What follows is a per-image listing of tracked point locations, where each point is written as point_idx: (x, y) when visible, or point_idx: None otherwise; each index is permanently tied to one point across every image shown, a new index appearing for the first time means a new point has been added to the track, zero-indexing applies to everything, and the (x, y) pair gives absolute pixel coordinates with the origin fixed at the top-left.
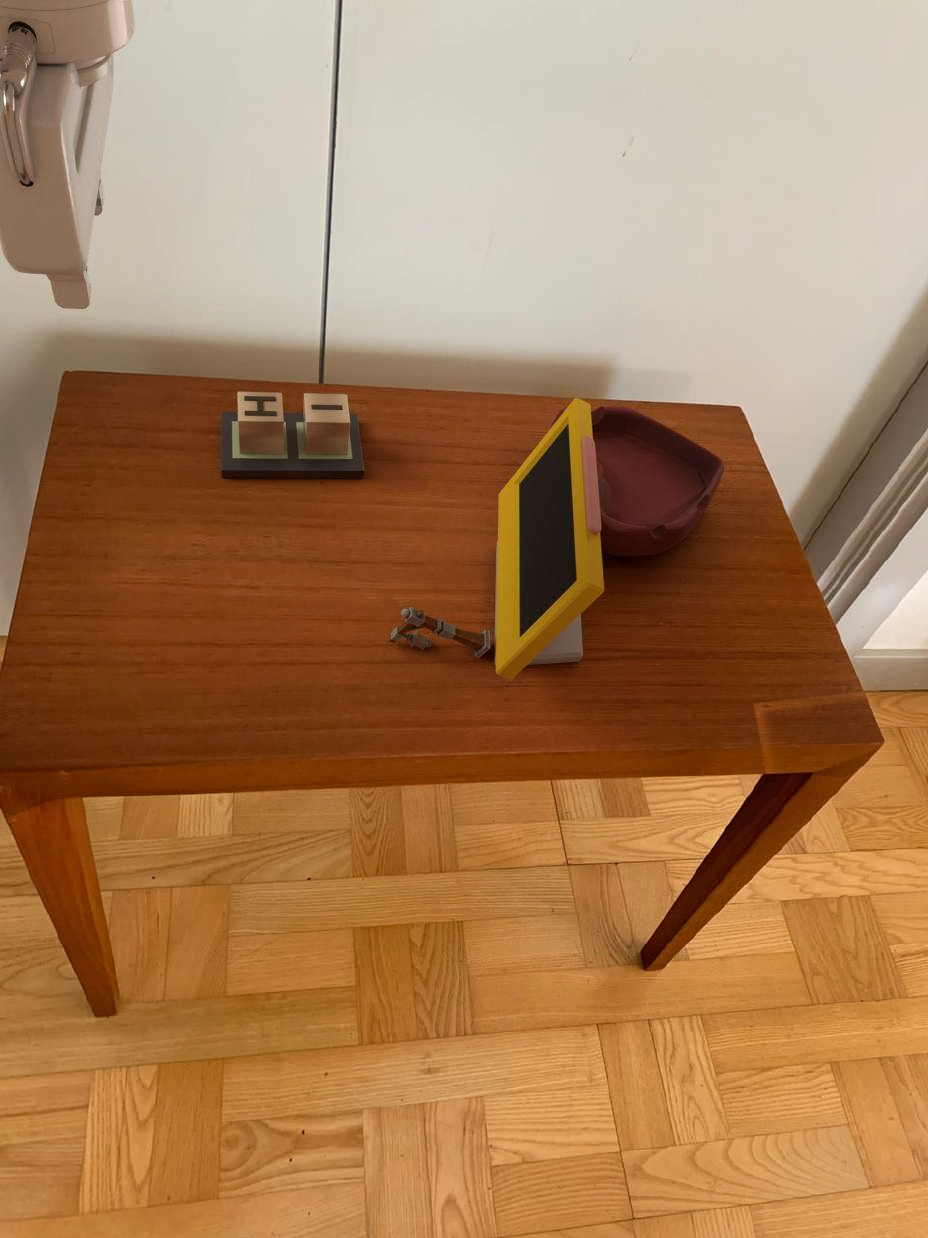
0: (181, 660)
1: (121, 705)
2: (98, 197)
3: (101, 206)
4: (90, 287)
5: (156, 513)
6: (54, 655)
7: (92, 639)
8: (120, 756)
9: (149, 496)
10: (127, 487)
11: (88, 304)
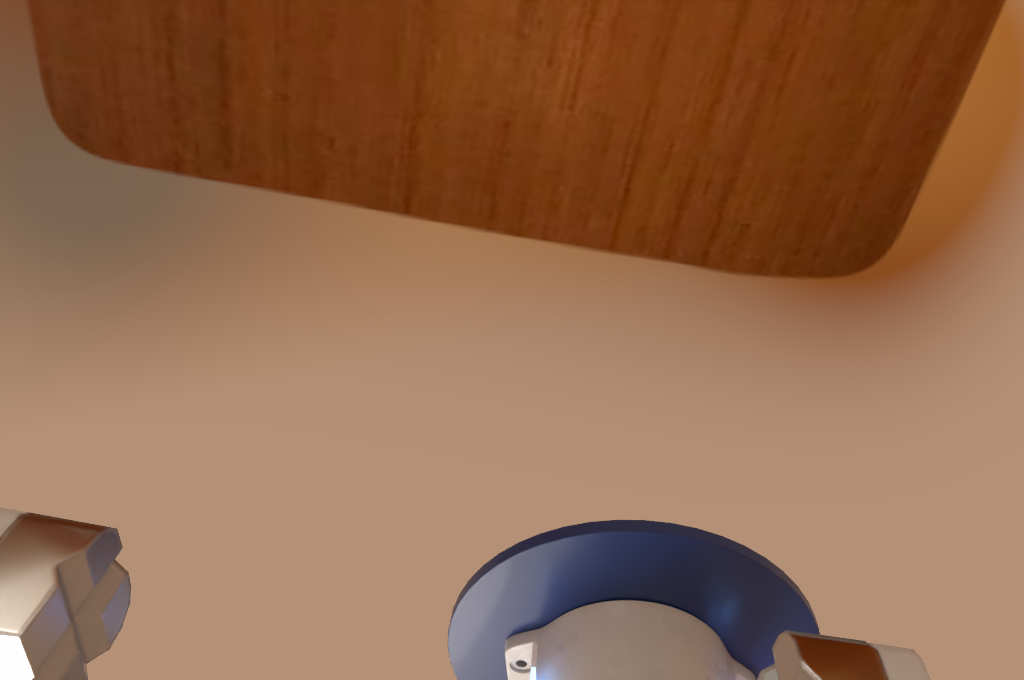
0: (779, 14)
1: (836, 127)
2: (55, 595)
3: (87, 552)
4: (821, 659)
5: (407, 23)
6: (701, 217)
7: (685, 160)
8: (934, 137)
9: (360, 32)
10: (336, 73)
11: (918, 658)
